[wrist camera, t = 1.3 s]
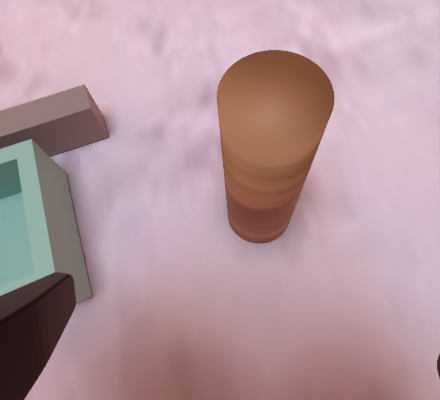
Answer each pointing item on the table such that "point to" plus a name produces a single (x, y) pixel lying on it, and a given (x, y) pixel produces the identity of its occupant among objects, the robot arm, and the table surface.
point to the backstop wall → (54, 122)
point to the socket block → (37, 221)
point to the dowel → (270, 137)
